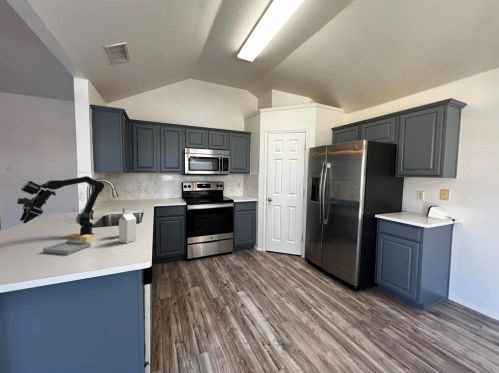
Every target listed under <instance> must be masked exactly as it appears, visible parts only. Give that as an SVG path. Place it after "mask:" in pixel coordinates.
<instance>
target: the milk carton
mask: <svg viewBox="0 0 499 373" xmlns="http://www.w3.org/2000/svg"><path fill="white" fill-rule="evenodd" d="M121 216H122V217H121V218H120V219H119V224H118V242H119V243H123V242H124V244H129V243H132V242H135V241H137V217H136V216H135V215H134V213H133V211H131V212H124V214H123V213H122V215H121ZM134 240H135V241H134ZM131 241H132V242H131ZM128 242H129V243H128Z"/></svg>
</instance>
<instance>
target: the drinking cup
mask: <svg viewBox="0 0 499 373" xmlns="http://www.w3.org/2000/svg"><path fill="white" fill-rule="evenodd" d="M124 213H125V208H124V207H123V208H122V215H120V216H118V217H117V223H118V224H117V225H119V219H120V218H121V217H122V216H123V214H124Z"/></svg>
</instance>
